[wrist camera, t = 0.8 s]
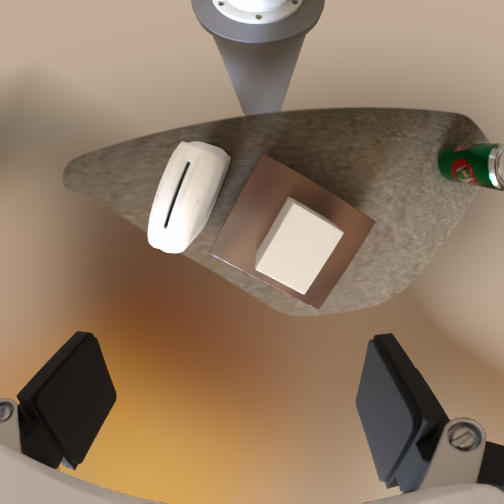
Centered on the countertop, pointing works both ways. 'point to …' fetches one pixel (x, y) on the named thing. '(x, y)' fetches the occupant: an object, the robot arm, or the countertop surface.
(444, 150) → the soda can
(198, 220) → the photo printer
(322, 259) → the white box
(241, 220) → the storage box
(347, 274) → the countertop surface
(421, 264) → the countertop surface
